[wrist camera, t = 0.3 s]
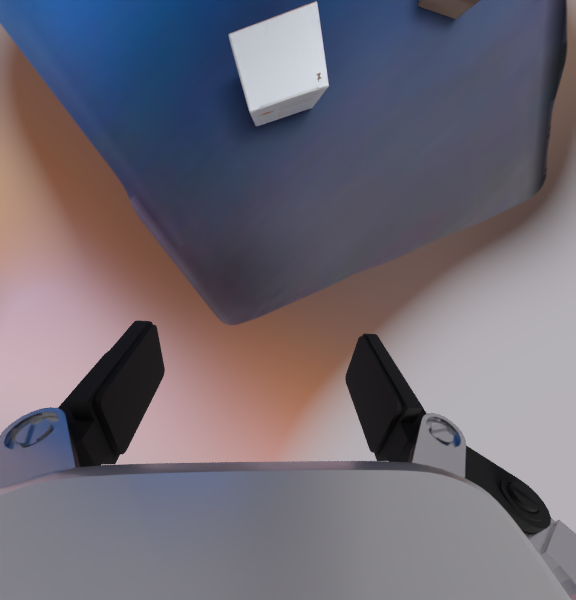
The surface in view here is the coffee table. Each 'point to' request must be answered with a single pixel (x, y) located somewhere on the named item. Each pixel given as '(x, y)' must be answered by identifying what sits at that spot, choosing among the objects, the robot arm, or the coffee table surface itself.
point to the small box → (281, 63)
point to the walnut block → (448, 6)
